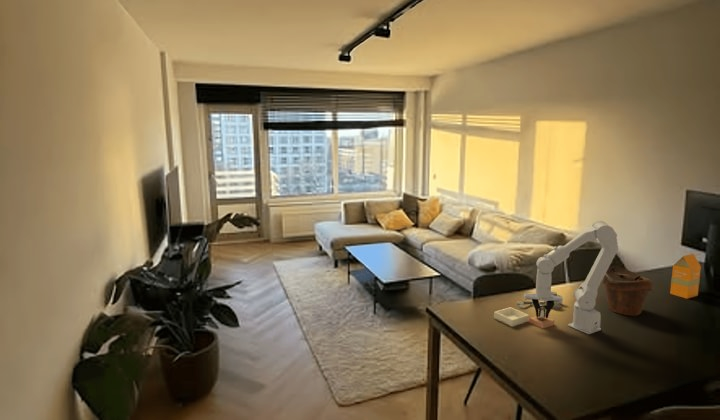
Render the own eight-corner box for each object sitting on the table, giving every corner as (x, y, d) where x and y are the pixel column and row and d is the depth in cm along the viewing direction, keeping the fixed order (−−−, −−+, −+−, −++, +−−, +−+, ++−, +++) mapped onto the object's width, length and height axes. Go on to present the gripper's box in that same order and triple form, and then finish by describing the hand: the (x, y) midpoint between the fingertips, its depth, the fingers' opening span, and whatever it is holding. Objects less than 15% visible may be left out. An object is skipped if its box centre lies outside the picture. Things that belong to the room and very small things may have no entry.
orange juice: (669, 293, 208) (673, 254, 205) (680, 290, 212) (684, 251, 208) (687, 298, 201) (692, 258, 198) (698, 295, 205) (702, 255, 201)
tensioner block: (554, 324, 177) (554, 320, 177) (543, 328, 174) (543, 324, 173) (540, 318, 183) (540, 314, 183) (528, 322, 180) (529, 317, 179)
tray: (528, 321, 180) (529, 314, 180) (512, 327, 176) (512, 320, 175) (510, 313, 189) (510, 307, 189) (493, 318, 184) (494, 311, 184)
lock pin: (547, 324, 178) (548, 306, 176) (542, 325, 176) (543, 307, 175) (540, 321, 180) (541, 303, 179) (535, 322, 179) (536, 305, 178)
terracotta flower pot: (651, 322, 177) (654, 281, 174) (596, 311, 189) (599, 273, 186) (653, 309, 191) (657, 270, 188) (603, 299, 203) (605, 263, 200)
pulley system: (576, 303, 201) (547, 292, 213) (577, 294, 199) (547, 284, 212) (540, 320, 186) (512, 307, 198) (541, 310, 185) (512, 298, 197)
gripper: (525, 287, 174) (524, 319, 176) (564, 290, 170) (562, 322, 172) (524, 282, 180) (522, 312, 183) (561, 284, 176) (559, 315, 179)
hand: (541, 316), depth 178 cm, fingers closed on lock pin, 3 cm apart
